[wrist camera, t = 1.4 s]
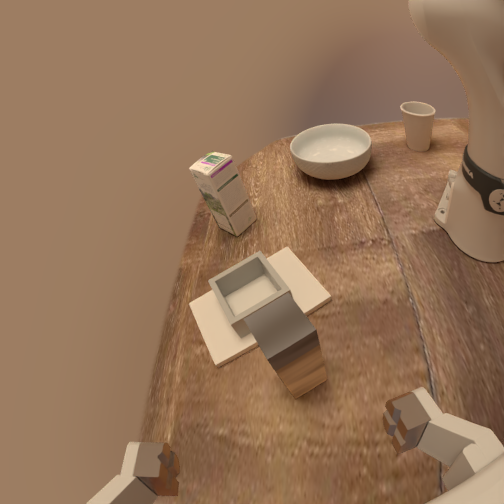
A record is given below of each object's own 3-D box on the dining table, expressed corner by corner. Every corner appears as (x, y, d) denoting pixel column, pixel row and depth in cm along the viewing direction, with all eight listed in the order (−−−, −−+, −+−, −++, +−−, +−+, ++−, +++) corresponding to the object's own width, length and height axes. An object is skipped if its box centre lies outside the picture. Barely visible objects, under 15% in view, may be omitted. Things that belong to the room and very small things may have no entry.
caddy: (191, 306, 46) (177, 288, 42) (288, 250, 48) (281, 228, 44) (218, 367, 37) (202, 353, 34) (331, 299, 39) (328, 278, 36)
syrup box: (258, 218, 55) (233, 153, 45) (236, 238, 53) (206, 173, 43) (238, 210, 59) (212, 149, 49) (217, 228, 57) (187, 167, 47)
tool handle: (278, 370, 35) (243, 318, 25) (308, 352, 35) (288, 292, 25) (295, 399, 32) (267, 359, 22) (327, 379, 32) (316, 329, 22)
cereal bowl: (283, 185, 60) (275, 157, 55) (313, 147, 68) (308, 121, 63) (361, 198, 51) (359, 166, 46) (380, 154, 59) (378, 126, 54)
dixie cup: (400, 151, 58) (399, 112, 51) (403, 136, 62) (401, 99, 55) (434, 156, 53) (436, 116, 46) (434, 140, 57) (434, 103, 50)
